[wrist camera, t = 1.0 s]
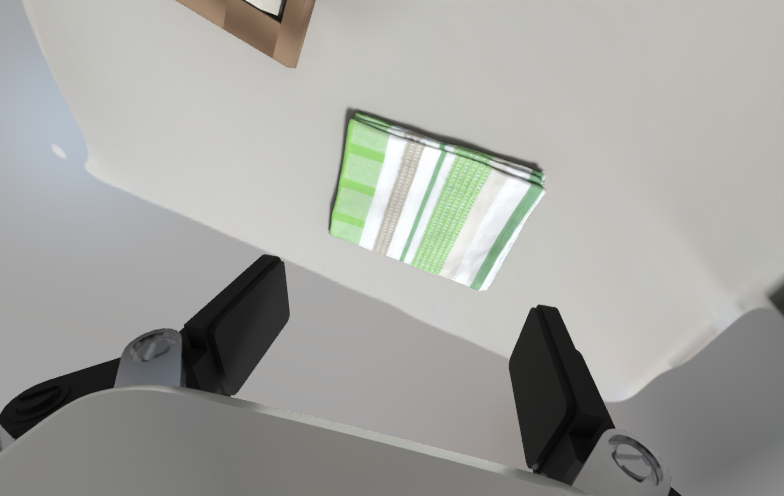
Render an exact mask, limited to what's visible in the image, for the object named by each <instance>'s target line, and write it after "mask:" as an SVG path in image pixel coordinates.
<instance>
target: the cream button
mask: <svg viewBox="0 0 784 496" xmlns="http://www.w3.org/2000/svg"><path fill="white" fill-rule="evenodd" d="M246 1H248V2H249V3H251V4H253V5H254V6H256V7H258V8H259V9H261V10H264V11H267V12H269V13H272V14H274V15H277V16H278V12H279V8H280V4H281V0H246Z"/></svg>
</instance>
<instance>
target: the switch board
mask: <svg viewBox="0 0 784 496" xmlns="http://www.w3.org/2000/svg"><path fill="white" fill-rule="evenodd" d="M176 1H177V2H179V3H181V4H182V5H184V6H186V7H187V8H189V9H191V10H192V11H194V12H196V13H197V14H199V15H201V16H202V17H204V18H206V19H207V20H209V21H211V22H212V23H214V24H216V25H217V26H219V27H221V28H222V29H224V30H226V31H227V32H229V33H231V34H232V35H234V36H236V37H237V38H239V39H241V40H242V41H244V42H246V43H248V44H249V45H251V46H253V47H254V48H256V49H258V50H259V51H261V52H263V53H264V54H266V55H268V56H269V57H271V58H273V59H274V60H276V61H278V62H279V63H281V64H283V65H284V66H286V67H290V68H296V66H297V63H298V59H299V56H300V52H301V49H302V45H303V42H304V38H305V35H306V31H307V28H308V25H309V21H310V18H311V14H312V11H313V7H314V4H315V0H287V1H286V5H285V9H284V14H283V18H282V22H281V21H279V20H277V19H276V18H274V17H272V16H271V15H269V14H268V13H266V12H264V11H263V10H261V9H259V8H258V7H256V6H254V5H253V4H251V3H249V2H248V1H246V0H176Z"/></svg>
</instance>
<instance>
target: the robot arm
mask: <svg viewBox="0 0 784 496" xmlns="http://www.w3.org/2000/svg"><path fill="white" fill-rule="evenodd" d="M289 315H290V312H289V302H288V293H287V283H286V275H285V265H284V262H283V261H281V259H280V258H279V257H277V256H272V255H266V254H264V255H262V256H261V257H260V258H259V259H258V260H256V261H255V262H254V263H253V264H252V265H251V266H250V267H249V268H247V269H246V270H245V271H244V272H243V273H242V274H241V275H239V276H238V277H237V278H236V279H235V280H234V281H233V282H232V283H231V284H229V285H228V286H227V287H226V288H225V289H224V290H223V291H222V292H220V294H218V295H217V296H216V297H215V298H214V299H212V300H211V301H210V302H209V303H208V304H207V305H206V306H205V307H204V308H202V309H201V310H200V311H199V312H198V313H197V314H196V315H194V316H193V318H191V319H190V320H189V321H188V322H187V323H186V324H184V328H183V329H182V330H181V331H179V332H178V331H177V330H173V329H165V328H163V329H157V330H153V331H150V332H148V333H145V334H143V335H141V336H139V337H137V338H136V339H134V340H133V341H132V342H130V343H129V344H128V345H127V346H126V348H125V349H124V351H123V353H122V355H121V357H120V358H117V359H114V360H111V361H108V362H104V363H101V364H98V365H95V366H92V367H89V368H85V369H82V370H79V371H76V372H73V373H70V374H66V375H63V376H60V377H57V378H54V379H50V380H48V381H45V382H42V383H40V384H37V385H35V386H33V387H31V388H29V389H27V390H25V391H24V392H22V393H21V394H19V395H18V396H17V397H15V398H14V399H12V400H11V402H9V404H7V405H6V406H5V408H4V409H3V411H2V412H1V414H0V496H681V495H680V494H679V493H678V492H676V491H675V490H674V489H673V488H671V476H670V473H669V470H668V468H667V466H666V464H665V463H664V461H663V460H662V458H661V457H660V456H659V455H658V454H657V453H656V451H655V450H654V449H653V448H652V447H651V446H649V445H648V444H647V443H646V442H645V441H644V440H642V439H640V438H639V437H637V436H636V435H634V434H632V433H630V432H627V431H625V430H621V429H616V428H615V426H614V424H613V422H612V420H611V417H610V415H609V413H608V411H607V409H606V406H605V405H604V402H603V400H602V398H601V396H600V393H599V391H598V389H597V387H596V385H595V382H594V380H593V378H592V376H591V374H590V372H589V369H588V367H587V365H586V363H585V361H584V358H583V356H582V355H581V353H580V352H579V351H578V350H576V349H575V346H574V344H573V342H572V340H571V337H570V335H569V333H568V331H567V329H566V326H565V324H564V322H563V320H562V317H561V315H560V313H559V311H558V309H557V308H556V307H550V306H545V305H538V306H537V307H536V308H531V310H530V312H529V314H528V316H527V319H526V321H525V324H524V326H523V329H522V331H521V333H520V336H519V338H518V341H517V343H516V345H515V348H514V350H513V353H512V355H511V357H510V361H509V371H510V376H511V382H512V387H513V392H514V398H515V403H516V409H517V415H518V420H519V426H520V431H521V436H522V442H523V448H524V453H525V459H526V463H527V466H528V468H530V469H533V473H531V472H527V471H523V470H520V469H517V468H513V467H509V466H505V465H502V464H498V463H494V462H490V461H487V460H483V459H479V458H476V457H472V456H467V455H464V454H460V453H456V452H452V451H448V450H444V449H440V448H436V447H432V446H428V445H424V444H420V443H416V442H413V441H409V440H405V439H401V438H397V437H392V436H388V435H384V434H381V433H376V432H372V431H368V430H364V429H360V428H356V427H352V426H348V425H344V424H340V423H336V422H331V421H328V420H324V419H320V418H316V417H312V416H308V415H303V414H299V413H295V412H291V411H287V410H283V409H279V408H274V407H270V406H266V405H262V404H258V403H254V402H250V401H245V400H241V399H237V398H232V397H230V396H231V395H235V394H236V393H237V392H238V391H239V390H240V388H241V387H242V385H243V384H244V383H245V381H246V380H247V378H248V377H249V376H250V374H251V373H252V371H253V370H254V368H255V367H256V366H257V364H258V363H259V361H260V360H261V359H262V357H263V356H264V354H265V353H266V352H267V350H268V349H269V347H270V346H271V344H272V343H273V342H274V340H275V339H276V337H277V336H278V335H279V333H280V332H281V330H282V329H283V327H284V326H285V325H286V323H287V322H288V319H289Z"/></svg>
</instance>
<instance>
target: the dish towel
mask: <svg viewBox="0 0 784 496" xmlns="http://www.w3.org/2000/svg"><path fill="white" fill-rule="evenodd" d="M545 177H546V174H543V173H540V172H538V171H536V170H534V169H530V168H528V167H525V166H523V165H518V164H515V163H513V162H509V161H506V160H503V159H500V158H497V157H494V156H490V155H488V154H484V153H482V152H478V151H475V150H472V149H469V148H464V147H461V146H456V145H451V144H448V143H443V142H440V141H437V140H434V139H432V138H430V137H428V136H425V135H422V134H420V133H417V132H415V131H412V130H409V129H405V128H402V127H400V126H396V125H394V124H391V123H388V122H386V121H383V120H380V119H377V118H374V117H371V116H367V115H365V114H362V113H359V112H356V113H355V116H354V119H350V120H349V124H348V130H347V136H346V143H345V150H344V157H343V164H342V170H341V174H340V179H339V185H338V192H337V196H336V201H335V205H334V208H333V211H332V217H331V227H330V231H329V234H330V235H332V236H334V237H337V238H341V239H343V240H346V241H349V242H351V243H354V244H357V245H359V246H362V247H364V248H367V249H369V250H371V251H374V252H376V253H379V254H382V255H386V256H389V257H392V258H394V259H397V260H400V261H402V262H405V263H408V264H410V265H412V266H415V267H417V268H420V269H423V270H425V271H428V272H430V273H434V274H437V275H440V276H443V277H446V278H449V279H451V280H454V281H457V282H459V283H462V284H464V285H467V286H469V287H471V288H473V289H475V290H478V291H481V290H487V288H488V287H489V285H490V284H491V282H492V280H493V279H494V277H495V275H496V273H497V271H498V270H499V268H500V266H501V264H502V262H503V260H504V259H505V257H506V255H507V253H508V251H509V250H510V248H511V246H512V245H513V243H514V241H515V239H516V238H517V236H518V234H519V232H520V230H521V228H522V226H523V224H524V222H525V221H526V219H527V218H528V216H529V215H530V213H531V212H532V211H533V209H534V208H535V206H536V205H537V204H538V202H539V201H540V199H541V197H542V196H543V195H544V194H545V193H546V189H545V188H544V187H542V186H543V185H544V184H545V182H544V181H543V180H544V178H545Z"/></svg>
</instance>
